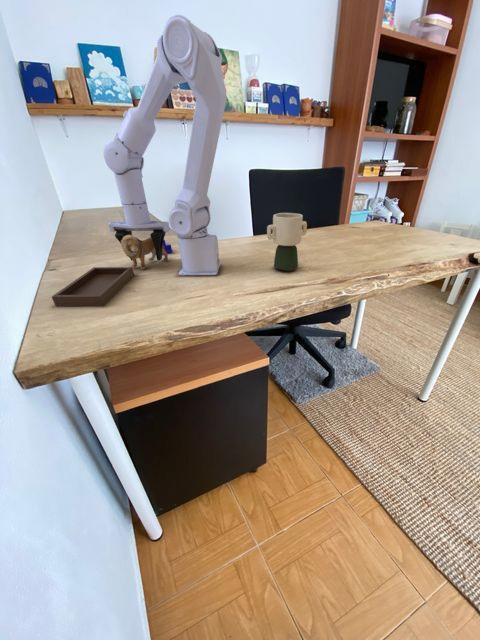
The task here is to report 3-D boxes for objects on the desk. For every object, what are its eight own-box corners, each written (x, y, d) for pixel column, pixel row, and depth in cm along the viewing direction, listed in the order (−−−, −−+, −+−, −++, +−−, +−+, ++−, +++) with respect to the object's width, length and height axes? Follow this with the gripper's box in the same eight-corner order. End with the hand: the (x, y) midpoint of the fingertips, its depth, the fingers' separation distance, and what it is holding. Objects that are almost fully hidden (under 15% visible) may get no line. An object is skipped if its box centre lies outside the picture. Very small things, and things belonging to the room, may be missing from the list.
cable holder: (172, 253, 89) (169, 239, 87) (161, 254, 88) (158, 241, 85) (163, 247, 95) (161, 234, 92) (153, 248, 93) (150, 235, 91)
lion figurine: (138, 276, 73) (131, 239, 68) (121, 271, 75) (113, 235, 69) (173, 258, 85) (169, 225, 79) (157, 254, 86) (153, 222, 80)
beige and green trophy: (296, 262, 81) (299, 211, 74) (310, 269, 76) (315, 215, 69) (261, 267, 78) (260, 214, 70) (273, 276, 72) (274, 219, 65)
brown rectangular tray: (134, 275, 73) (132, 267, 72) (103, 306, 59) (99, 296, 58) (96, 275, 73) (93, 267, 72) (55, 306, 59) (51, 296, 58)
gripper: (168, 200, 74) (177, 254, 82) (111, 200, 74) (125, 255, 82) (160, 205, 68) (171, 262, 76) (98, 205, 68) (115, 263, 76)
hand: (146, 259), depth 78 cm, fingers closed on lion figurine, 6 cm apart
